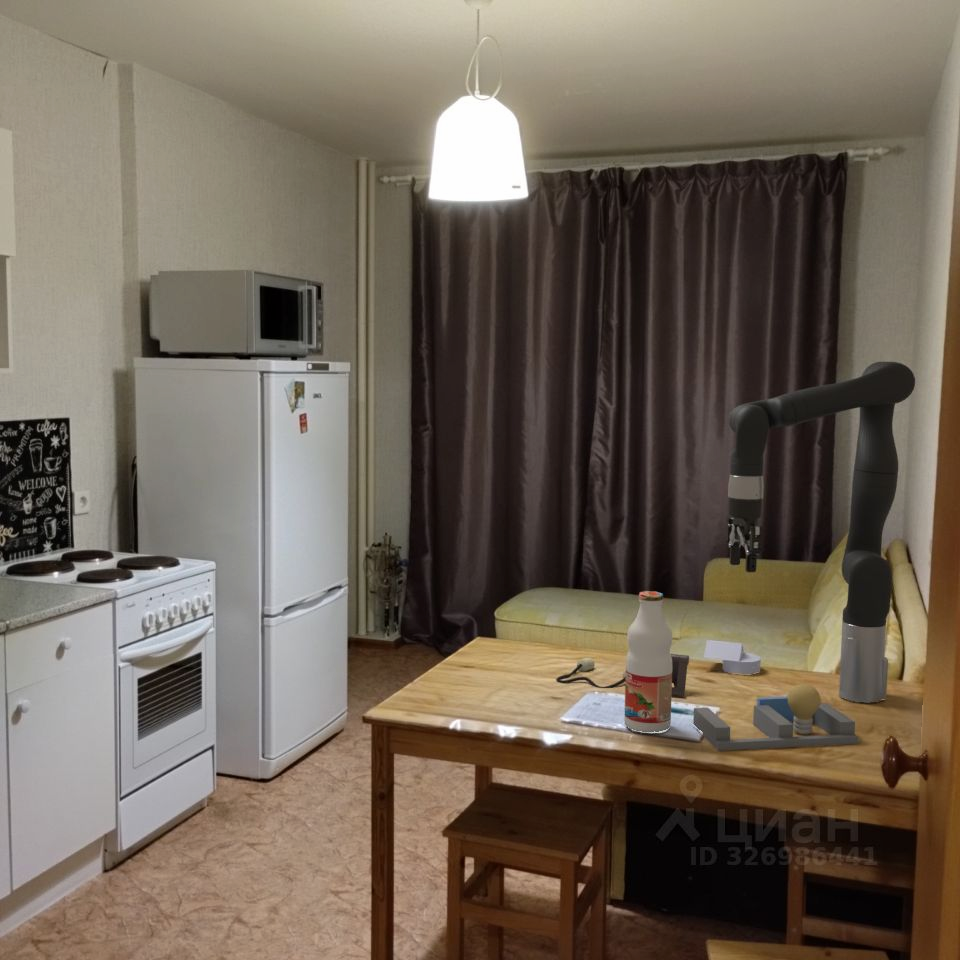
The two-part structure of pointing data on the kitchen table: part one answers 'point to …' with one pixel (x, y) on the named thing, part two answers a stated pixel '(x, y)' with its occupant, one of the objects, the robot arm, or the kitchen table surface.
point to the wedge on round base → (733, 657)
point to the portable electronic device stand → (679, 674)
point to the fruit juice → (649, 668)
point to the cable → (585, 666)
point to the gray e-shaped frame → (777, 727)
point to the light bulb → (803, 707)
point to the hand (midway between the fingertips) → (742, 568)
